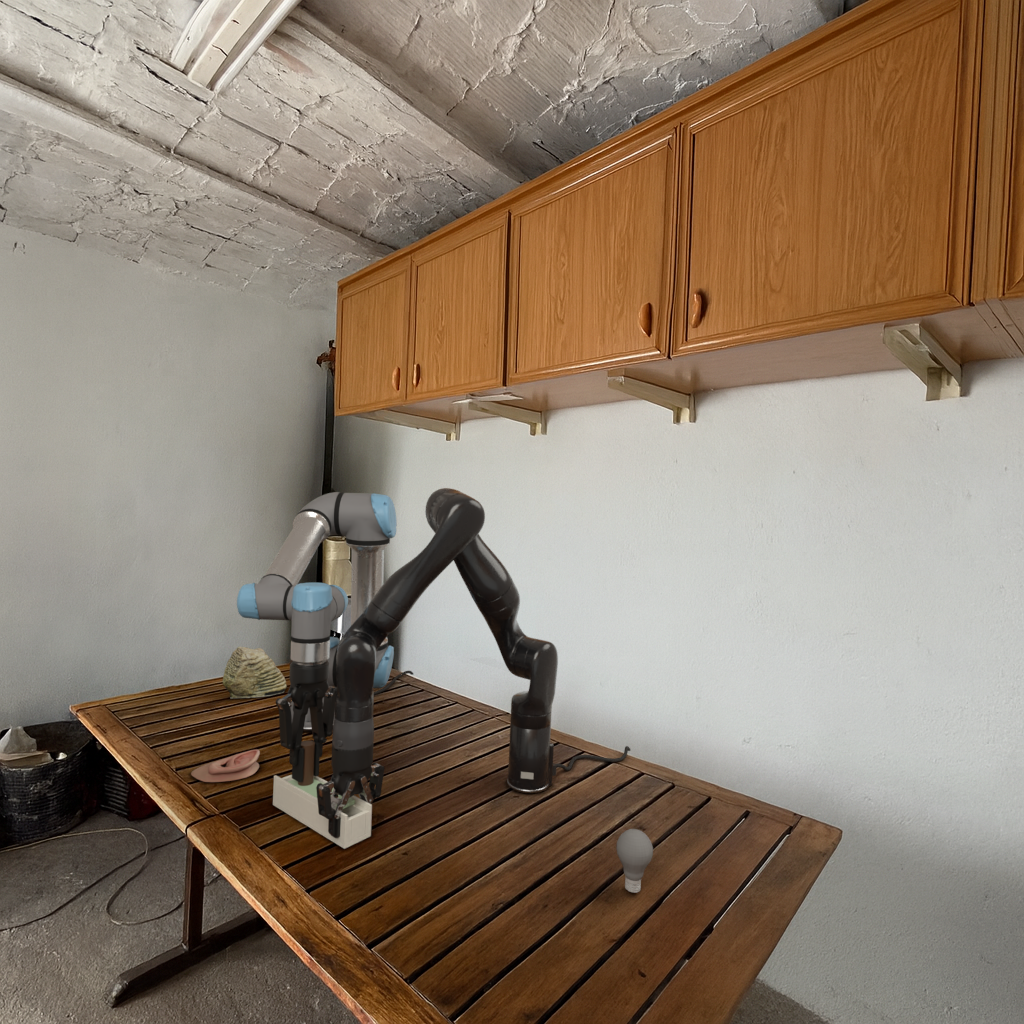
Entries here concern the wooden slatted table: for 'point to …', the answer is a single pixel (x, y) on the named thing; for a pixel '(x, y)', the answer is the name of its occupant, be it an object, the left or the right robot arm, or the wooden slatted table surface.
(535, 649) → the right robot arm
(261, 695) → the fossil
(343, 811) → the pencil box
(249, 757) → the anatomical model
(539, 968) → the wooden slatted table surface
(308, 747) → the sliding lid
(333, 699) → the left robot arm
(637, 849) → the light bulb
